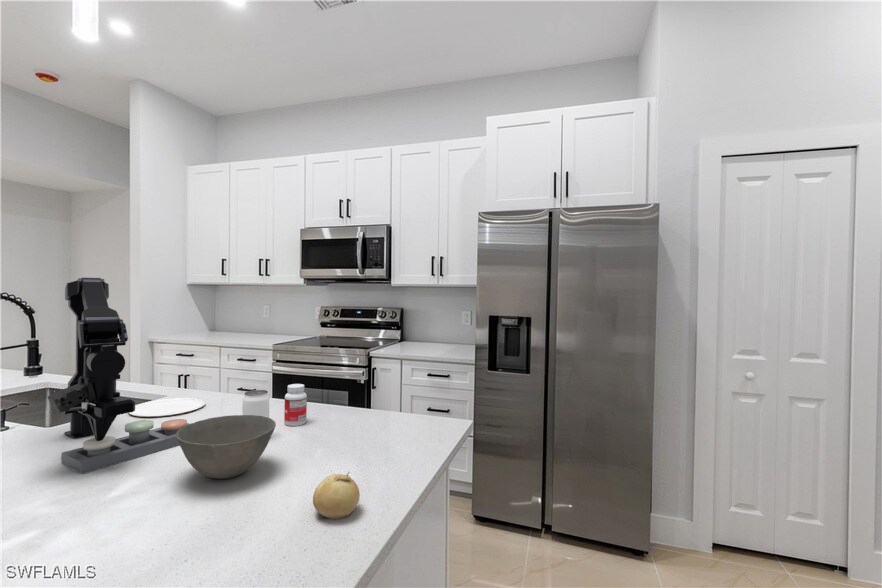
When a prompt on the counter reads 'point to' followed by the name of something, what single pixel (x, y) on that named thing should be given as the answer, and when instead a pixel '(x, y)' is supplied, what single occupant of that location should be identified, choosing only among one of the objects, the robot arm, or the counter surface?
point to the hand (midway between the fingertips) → (99, 440)
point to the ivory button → (98, 446)
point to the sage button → (139, 431)
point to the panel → (118, 452)
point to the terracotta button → (173, 426)
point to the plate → (167, 407)
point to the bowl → (225, 443)
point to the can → (256, 403)
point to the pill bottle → (295, 405)
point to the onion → (336, 496)
